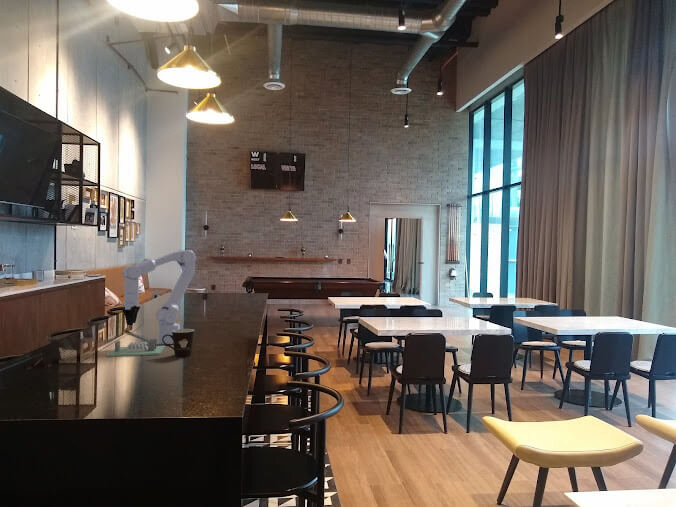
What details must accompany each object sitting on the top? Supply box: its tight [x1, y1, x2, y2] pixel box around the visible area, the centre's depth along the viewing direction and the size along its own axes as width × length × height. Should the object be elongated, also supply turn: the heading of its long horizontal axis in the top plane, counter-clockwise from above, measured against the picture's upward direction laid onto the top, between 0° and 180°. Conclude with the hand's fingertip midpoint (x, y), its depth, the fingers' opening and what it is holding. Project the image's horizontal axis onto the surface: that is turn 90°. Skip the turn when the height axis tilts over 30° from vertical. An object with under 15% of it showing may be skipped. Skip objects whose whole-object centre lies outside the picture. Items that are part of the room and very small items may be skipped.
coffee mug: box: [162, 328, 195, 358], centre depth 193 cm, size 12×9×10 cm
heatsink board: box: [106, 338, 166, 358], centre depth 199 cm, size 20×15×5 cm
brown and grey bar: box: [123, 329, 155, 343], centre depth 199 cm, size 13×4×2 cm, turn 101°
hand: (131, 324), depth 207 cm, fingers open, 5 cm apart
